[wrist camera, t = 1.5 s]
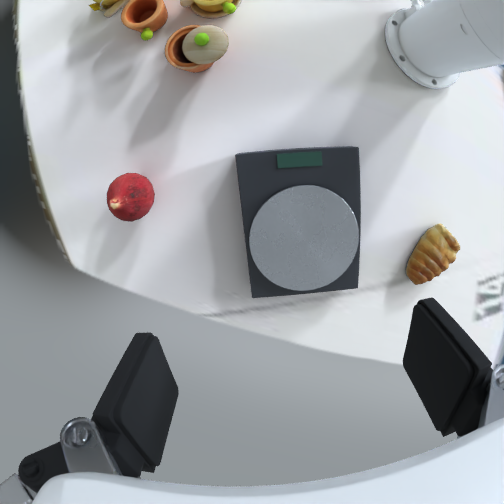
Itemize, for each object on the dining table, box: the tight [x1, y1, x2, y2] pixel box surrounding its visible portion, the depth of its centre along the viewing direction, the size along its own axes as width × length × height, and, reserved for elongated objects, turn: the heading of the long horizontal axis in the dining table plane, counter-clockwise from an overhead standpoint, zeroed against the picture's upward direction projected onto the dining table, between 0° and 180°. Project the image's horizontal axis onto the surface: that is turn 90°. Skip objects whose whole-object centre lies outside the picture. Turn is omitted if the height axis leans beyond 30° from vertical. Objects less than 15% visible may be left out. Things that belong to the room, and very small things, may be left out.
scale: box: [235, 146, 361, 298], centre depth 34 cm, size 18×14×3 cm
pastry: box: [406, 224, 460, 285], centre depth 35 cm, size 9×7×4 cm
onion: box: [107, 173, 155, 221], centre depth 31 cm, size 6×6×8 cm
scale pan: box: [249, 185, 359, 291], centre depth 33 cm, size 13×13×1 cm
